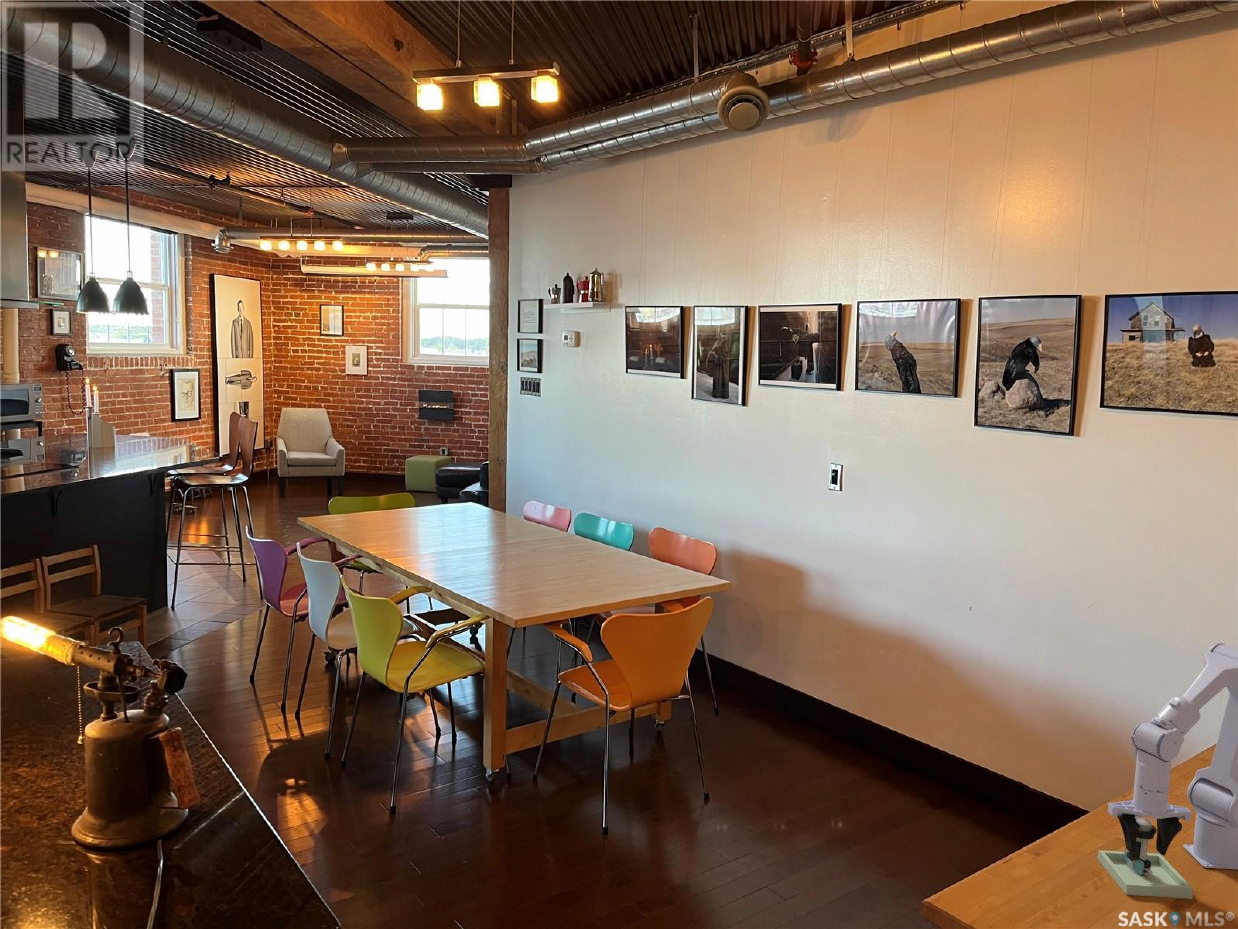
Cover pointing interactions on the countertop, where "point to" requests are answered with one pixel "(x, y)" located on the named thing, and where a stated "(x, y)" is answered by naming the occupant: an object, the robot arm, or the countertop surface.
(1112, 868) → the tray
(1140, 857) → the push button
